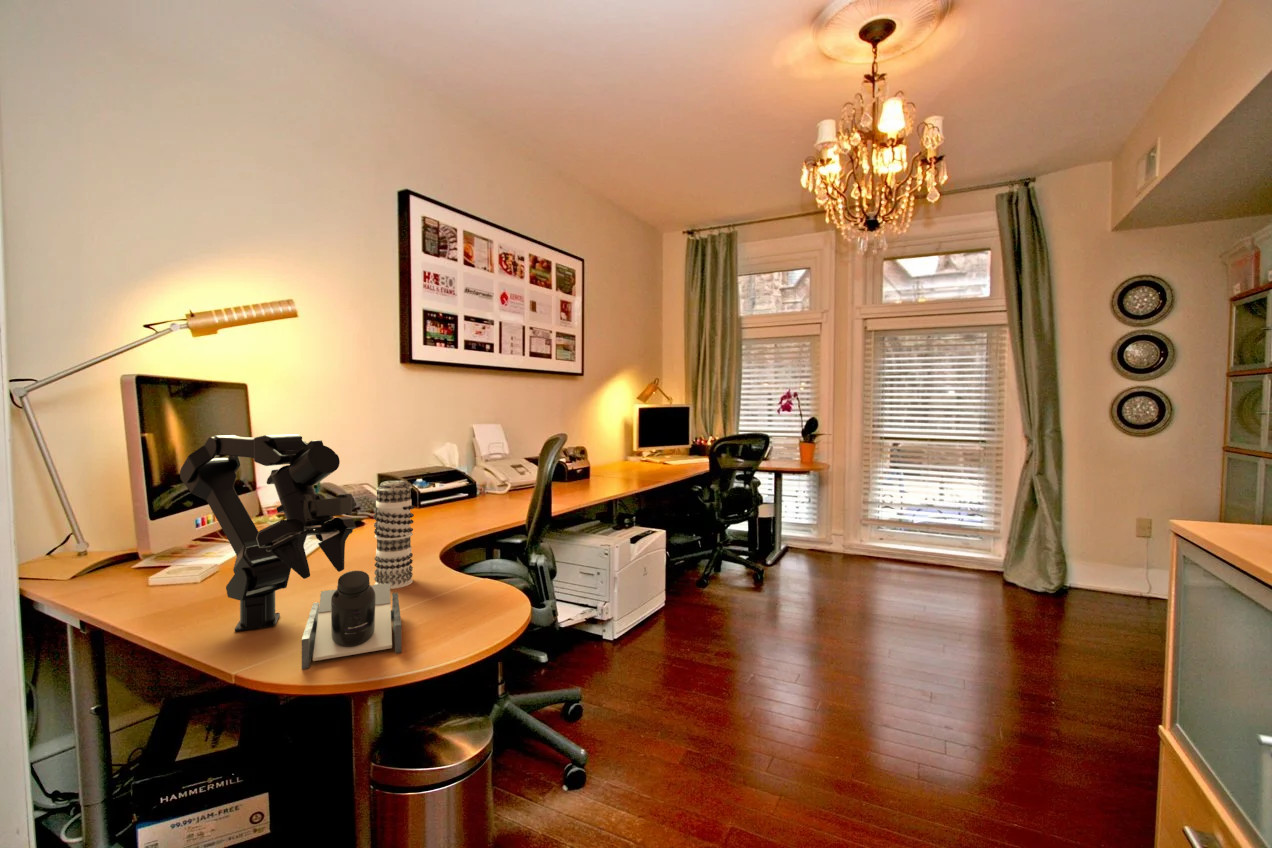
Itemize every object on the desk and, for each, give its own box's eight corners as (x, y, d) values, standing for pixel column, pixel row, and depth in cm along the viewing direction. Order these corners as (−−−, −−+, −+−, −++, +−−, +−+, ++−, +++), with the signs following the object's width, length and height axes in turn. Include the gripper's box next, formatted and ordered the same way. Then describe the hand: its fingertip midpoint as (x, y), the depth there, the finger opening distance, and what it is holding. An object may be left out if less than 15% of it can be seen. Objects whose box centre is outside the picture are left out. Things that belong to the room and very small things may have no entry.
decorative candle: (405, 574, 138) (405, 478, 137) (420, 583, 131) (420, 482, 131) (367, 582, 131) (367, 481, 131) (381, 592, 125) (381, 485, 124)
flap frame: (313, 628, 104) (313, 603, 104) (397, 616, 111) (397, 592, 110) (301, 669, 88) (301, 639, 88) (401, 652, 94) (401, 624, 94)
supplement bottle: (354, 654, 91) (354, 597, 87) (322, 640, 93) (319, 583, 88) (383, 628, 97) (384, 574, 93) (352, 616, 99) (352, 562, 95)
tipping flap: (321, 603, 104) (321, 591, 103) (389, 595, 109) (389, 583, 108) (313, 670, 90) (312, 657, 89) (391, 657, 95) (392, 644, 94)
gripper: (299, 475, 91) (329, 560, 88) (365, 479, 109) (392, 550, 106) (242, 503, 91) (270, 589, 88) (317, 502, 109) (343, 574, 107)
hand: (325, 574), depth 97 cm, fingers open, 9 cm apart
